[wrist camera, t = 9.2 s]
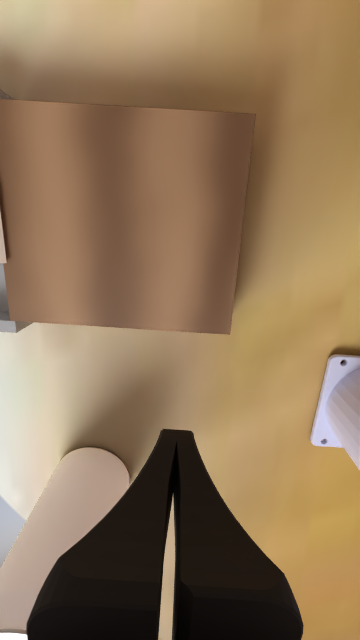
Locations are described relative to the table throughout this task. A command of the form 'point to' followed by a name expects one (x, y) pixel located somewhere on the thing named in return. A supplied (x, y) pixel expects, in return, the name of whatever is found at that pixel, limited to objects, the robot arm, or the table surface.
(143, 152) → the brown board
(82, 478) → the can
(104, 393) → the table surface
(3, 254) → the tile
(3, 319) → the tray
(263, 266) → the table surface
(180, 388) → the table surface
